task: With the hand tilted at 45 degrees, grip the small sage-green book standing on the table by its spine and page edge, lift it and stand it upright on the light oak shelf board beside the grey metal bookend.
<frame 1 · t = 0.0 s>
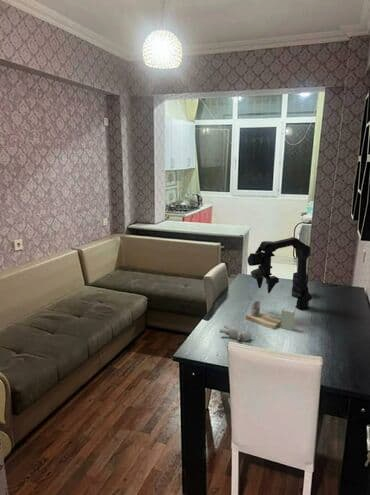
hand: (264, 290, 204), 15 cm above the table, tool pointing down, fingers open, 9 cm apart
bunny figurine: (235, 337, 180), on the table
storage jar: (299, 296, 238), on the table
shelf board: (270, 323, 195), on the table
sage book: (287, 328, 190), on the table
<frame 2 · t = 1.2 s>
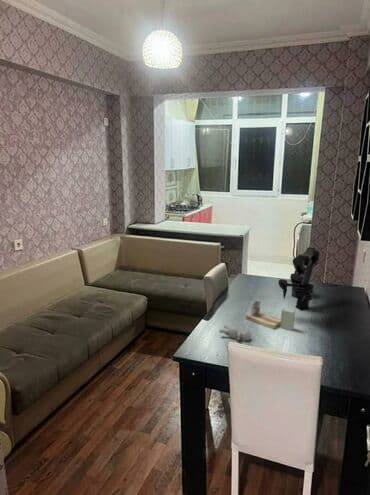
hand: (292, 299, 194), 13 cm above the table, tool tilted 45°, fingers open, 9 cm apart
nothing on the table moved.
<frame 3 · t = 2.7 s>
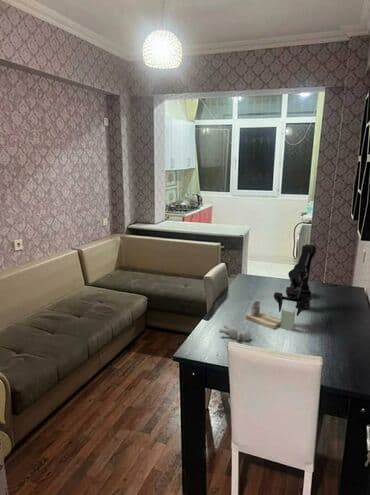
hand: (288, 313, 188), 8 cm above the table, tool tilted 45°, fingers open, 9 cm apart
nothing on the table moved.
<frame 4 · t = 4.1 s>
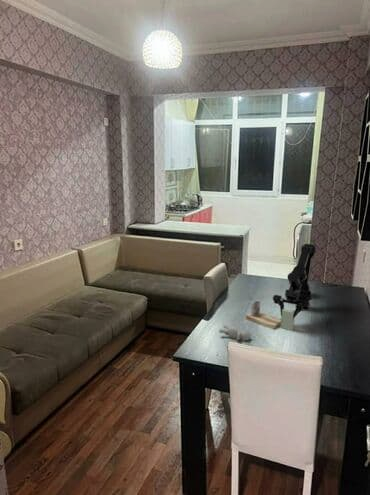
hand: (287, 316, 187), 7 cm above the table, tool tilted 45°, fingers closed on sage book, 6 cm apart
sage book: (287, 328, 190), on the table, touching gripper
everything else where it was.
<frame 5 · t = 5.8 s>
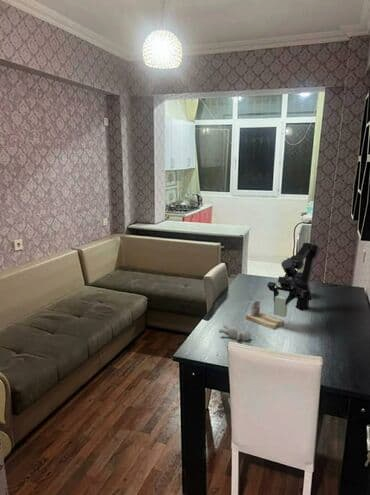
hand: (279, 303, 188), 13 cm above the table, tool tilted 45°, fingers closed on sage book, 6 cm apart
sage book: (280, 315, 191), point 6 cm above the table, touching gripper
everything else where it was.
when the fingers open (10 cm above the table, at t = 7.8 s): sage book drops 1 cm, resting on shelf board.
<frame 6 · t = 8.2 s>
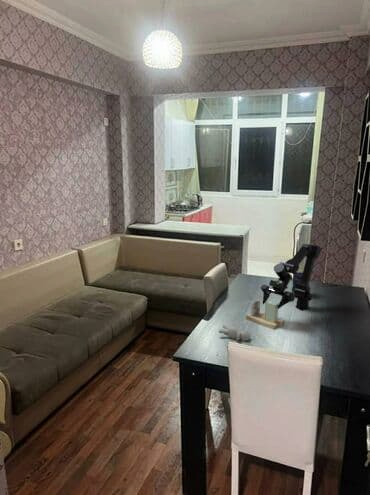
hand: (270, 306, 192), 11 cm above the table, tool tilted 45°, fingers open, 9 cm apart
sage book: (271, 320, 195), point 2 cm above the table, touching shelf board
everything else where it was.
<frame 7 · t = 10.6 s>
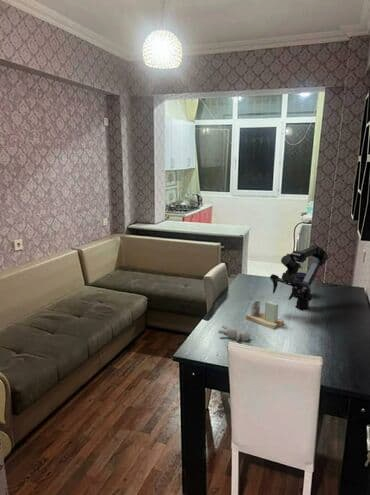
hand: (281, 296, 200), 13 cm above the table, tool tilted 35°, fingers open, 9 cm apart
nothing on the table moved.
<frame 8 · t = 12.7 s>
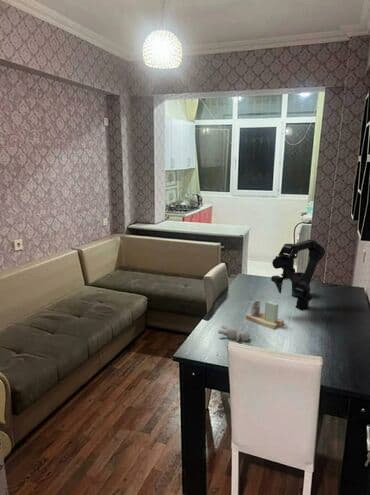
hand: (286, 292, 207), 13 cm above the table, tool pointing down, fingers open, 9 cm apart
nothing on the table moved.
at the end: sage book inside the target area on the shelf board (0.1 cm from its centre), point 2.0 cm above the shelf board's base; sage book tilted 0°; the gripper is holding nothing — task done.
